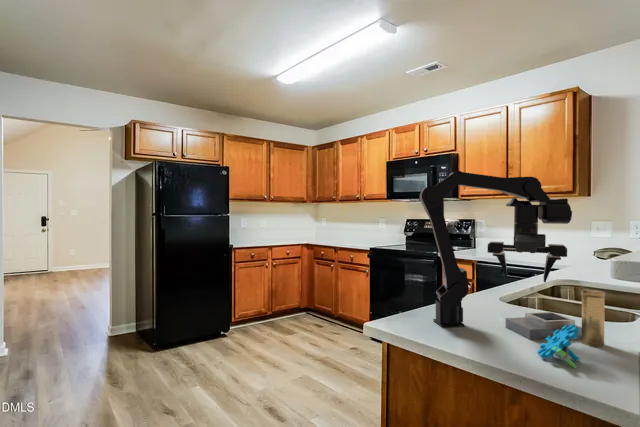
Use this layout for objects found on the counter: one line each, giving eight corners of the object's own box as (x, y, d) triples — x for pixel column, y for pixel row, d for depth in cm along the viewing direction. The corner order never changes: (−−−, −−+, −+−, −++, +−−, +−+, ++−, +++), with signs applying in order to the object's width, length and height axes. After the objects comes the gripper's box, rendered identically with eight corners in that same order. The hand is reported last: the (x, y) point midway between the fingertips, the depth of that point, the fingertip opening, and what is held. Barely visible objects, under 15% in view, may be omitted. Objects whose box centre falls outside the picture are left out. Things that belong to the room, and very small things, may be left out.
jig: (529, 339, 93) (529, 323, 93) (505, 327, 103) (505, 312, 103) (581, 337, 95) (581, 321, 95) (553, 325, 105) (553, 310, 105)
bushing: (592, 347, 88) (592, 294, 88) (576, 340, 92) (576, 289, 92) (610, 346, 88) (610, 293, 88) (593, 340, 93) (593, 289, 93)
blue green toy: (535, 339, 88) (572, 315, 84) (557, 360, 87) (595, 336, 82) (534, 362, 79) (575, 336, 74) (557, 386, 77) (600, 360, 73)
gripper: (486, 223, 100) (485, 282, 100) (570, 225, 92) (569, 289, 92) (489, 222, 110) (488, 275, 110) (565, 223, 101) (564, 281, 102)
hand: (525, 280), depth 103 cm, fingers open, 9 cm apart
